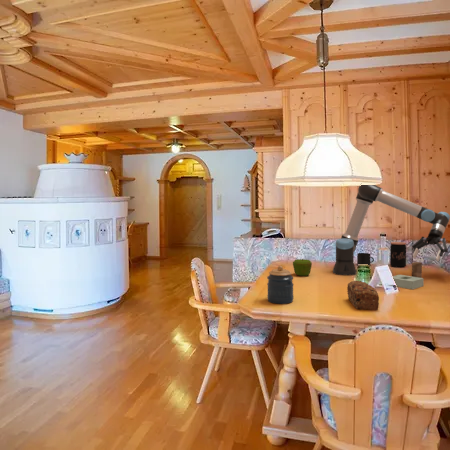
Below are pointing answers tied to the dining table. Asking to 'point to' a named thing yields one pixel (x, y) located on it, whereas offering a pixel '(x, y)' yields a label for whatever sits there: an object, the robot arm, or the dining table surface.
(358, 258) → the mug
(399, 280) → the end cap
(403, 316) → the dining table surface
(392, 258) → the coffee jar
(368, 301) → the bread
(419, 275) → the slat
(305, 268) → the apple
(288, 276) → the canister
